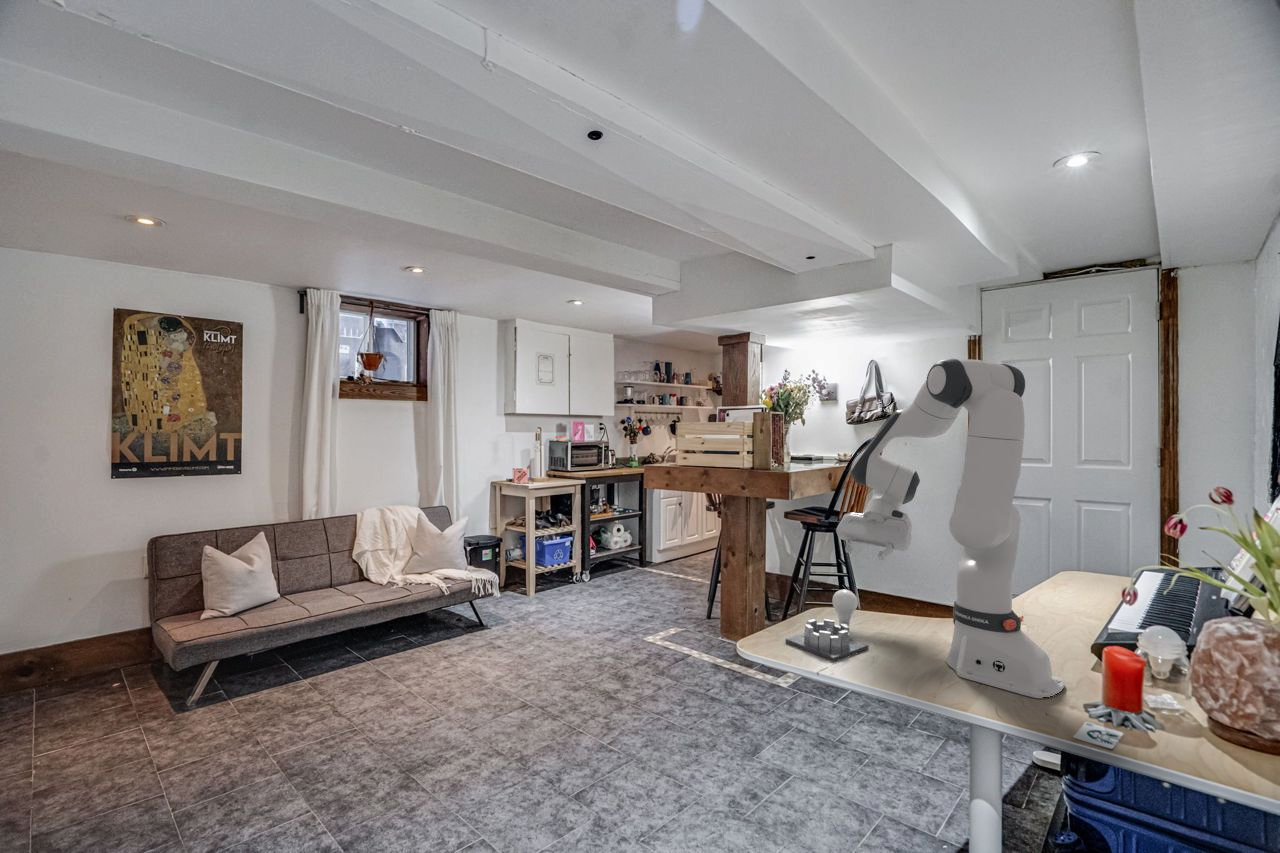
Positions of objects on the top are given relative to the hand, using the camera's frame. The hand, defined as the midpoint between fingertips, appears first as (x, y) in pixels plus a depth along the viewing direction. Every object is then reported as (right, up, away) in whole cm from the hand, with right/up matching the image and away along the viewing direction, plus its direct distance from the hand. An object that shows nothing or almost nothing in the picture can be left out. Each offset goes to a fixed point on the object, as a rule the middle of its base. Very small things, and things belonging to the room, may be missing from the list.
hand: (864, 555), depth 167 cm
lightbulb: (-9, -18, -9) cm, 22 cm away
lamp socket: (-17, -18, -20) cm, 32 cm away
